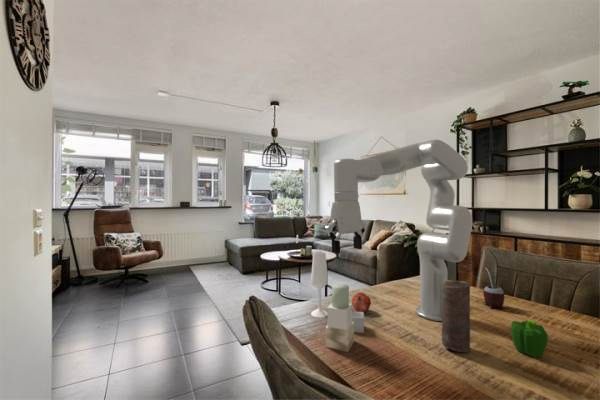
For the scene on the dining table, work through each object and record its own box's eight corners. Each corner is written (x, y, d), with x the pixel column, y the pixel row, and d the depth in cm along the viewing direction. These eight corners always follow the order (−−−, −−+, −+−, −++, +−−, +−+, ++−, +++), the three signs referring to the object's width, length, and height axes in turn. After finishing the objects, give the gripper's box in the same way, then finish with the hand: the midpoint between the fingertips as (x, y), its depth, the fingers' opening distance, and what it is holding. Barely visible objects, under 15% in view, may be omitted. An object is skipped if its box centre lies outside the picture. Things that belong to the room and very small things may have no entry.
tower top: (351, 322, 88) (351, 303, 88) (346, 330, 82) (346, 310, 82) (333, 319, 90) (333, 300, 90) (327, 327, 85) (327, 307, 85)
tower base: (353, 341, 88) (353, 322, 88) (348, 352, 82) (347, 331, 82) (332, 336, 91) (332, 318, 91) (325, 346, 85) (325, 327, 84)
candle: (469, 358, 78) (469, 287, 78) (440, 351, 82) (440, 283, 82) (470, 346, 84) (470, 280, 84) (443, 339, 88) (443, 277, 88)
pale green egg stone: (350, 303, 87) (350, 284, 87) (346, 310, 83) (346, 289, 83) (334, 301, 90) (334, 282, 89) (329, 307, 85) (329, 287, 85)
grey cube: (363, 326, 98) (363, 312, 98) (364, 333, 93) (363, 318, 93) (348, 325, 99) (348, 311, 99) (348, 331, 94) (348, 317, 94)
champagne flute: (322, 309, 113) (322, 250, 113) (331, 315, 107) (331, 253, 107) (307, 312, 110) (307, 251, 110) (316, 318, 104) (315, 254, 104)
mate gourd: (501, 311, 109) (501, 273, 109) (478, 305, 116) (478, 269, 115) (507, 307, 114) (507, 270, 114) (485, 301, 120) (485, 267, 120)
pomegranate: (354, 311, 116) (344, 302, 110) (361, 295, 118) (352, 286, 112) (370, 319, 110) (360, 310, 104) (377, 302, 113) (368, 292, 107)
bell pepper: (508, 342, 87) (508, 310, 87) (543, 349, 83) (543, 315, 83) (513, 355, 80) (513, 320, 79) (551, 363, 75) (551, 327, 75)
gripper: (356, 197, 98) (357, 245, 98) (317, 198, 88) (318, 252, 88) (373, 197, 91) (374, 249, 92) (333, 198, 81) (335, 256, 82)
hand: (347, 250), depth 90 cm, fingers open, 9 cm apart
